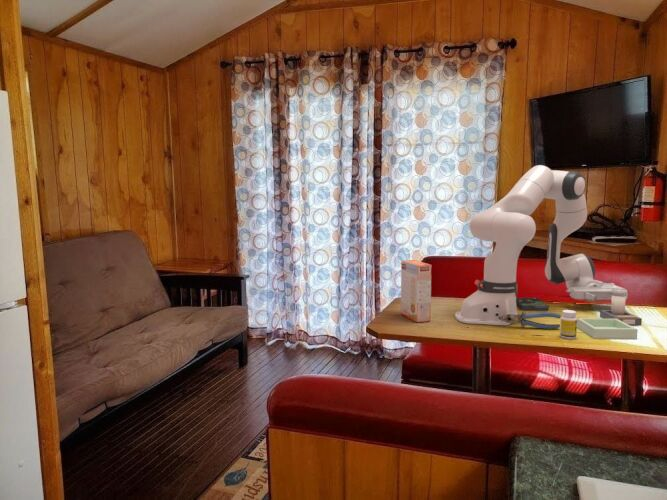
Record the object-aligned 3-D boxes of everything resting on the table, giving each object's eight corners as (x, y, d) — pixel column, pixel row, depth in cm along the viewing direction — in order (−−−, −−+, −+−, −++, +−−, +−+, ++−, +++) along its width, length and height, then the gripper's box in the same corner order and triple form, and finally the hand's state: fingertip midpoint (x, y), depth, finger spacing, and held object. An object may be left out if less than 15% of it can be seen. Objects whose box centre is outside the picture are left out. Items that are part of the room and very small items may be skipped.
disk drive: (511, 303, 209) (521, 311, 194) (511, 297, 209) (521, 304, 194) (537, 303, 208) (549, 312, 193) (537, 297, 208) (549, 304, 193)
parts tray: (594, 338, 157) (594, 329, 157) (576, 327, 170) (577, 318, 170) (636, 338, 157) (637, 329, 156) (616, 327, 169) (616, 318, 169)
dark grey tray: (616, 325, 172) (616, 317, 172) (599, 316, 184) (600, 309, 184) (641, 325, 171) (641, 317, 171) (623, 316, 183) (623, 309, 183)
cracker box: (431, 321, 179) (432, 264, 177) (416, 323, 177) (416, 265, 175) (414, 312, 192) (415, 259, 190) (400, 314, 191) (400, 259, 188)
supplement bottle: (578, 339, 157) (579, 313, 156) (561, 338, 157) (563, 312, 156) (573, 335, 161) (575, 309, 160) (558, 334, 162) (559, 309, 161)
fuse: (613, 321, 177) (615, 290, 176) (607, 318, 182) (609, 288, 181) (627, 321, 177) (629, 291, 176) (620, 318, 182) (622, 288, 180)
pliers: (498, 328, 170) (499, 311, 170) (497, 326, 173) (498, 309, 172) (560, 330, 167) (561, 313, 166) (559, 328, 169) (559, 311, 169)
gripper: (564, 282, 200) (579, 289, 187) (617, 282, 199) (635, 289, 185) (563, 297, 201) (578, 305, 187) (616, 298, 200) (634, 306, 186)
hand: (607, 297), depth 186 cm, fingers open, 8 cm apart
